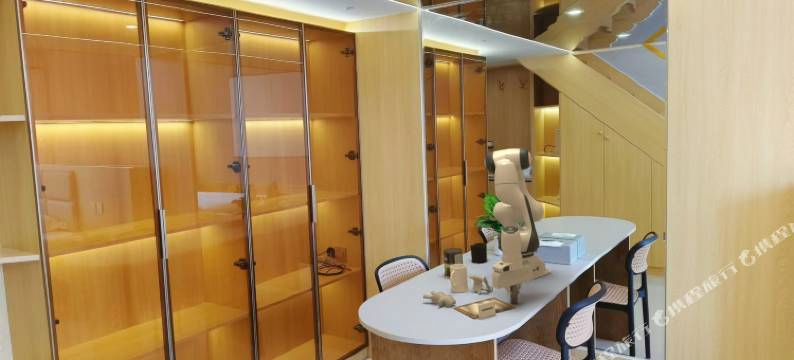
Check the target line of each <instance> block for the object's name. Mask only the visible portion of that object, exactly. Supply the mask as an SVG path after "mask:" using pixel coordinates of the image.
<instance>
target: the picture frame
mask: <svg viewBox="0 0 794 360" xmlns="http://www.w3.org/2000/svg"><path fill="white" fill-rule="evenodd" d="M491 301H495V314H499V313H502V312H503V313H504V312H505V311H510V310H512V309H516V308H517V306H515V305H514V304H511V303H508V302H506V301H504V300H502V299H499V298H496V297H489V298H485V299H482V300H481V299H480V300H478V301H475V302H470V303H467V304H463V305H458V306H455V307H453V310H455V311H457V312H459V313H461V314H463V315H465V316H466V317H469V318H471V319H472V320H476V319H479V311H478V305H479V304H483V303H487V302H491Z"/></svg>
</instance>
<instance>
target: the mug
mask: <svg viewBox="0 0 794 360" xmlns="http://www.w3.org/2000/svg"><path fill="white" fill-rule="evenodd" d="M467 267H468V266H467V264H465V263H463V264H454V265H451V266H450V274H451V277H450V279H449V282H450V286H451V287H450V290H451V292H453V293H457V294H458V293H466V292H468V291H469V285H468V284H469V283H468V281H469V280H468V271H467V270H468V269H467Z"/></svg>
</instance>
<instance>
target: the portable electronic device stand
mask: <svg viewBox="0 0 794 360" xmlns="http://www.w3.org/2000/svg"><path fill="white" fill-rule="evenodd" d="M468 278H469V279H471V280H473V286H472V290H471V293H472V294H475V293H476V292H477V295H481V291H483V290H484V291H487V292H488V291H489V292H493V291H494V287H493V285H489V281H488V279H487V277H486V276H481V275H476V274H472V273H471V274H469V277H468ZM483 282H484V284H485V286H484V284H483Z"/></svg>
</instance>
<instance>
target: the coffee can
mask: <svg viewBox="0 0 794 360" xmlns="http://www.w3.org/2000/svg"><path fill="white" fill-rule="evenodd" d="M442 252H443V263H444V277H445V278H446V279H449V280H450V277H451V274H450V266H451V265H454V264H464V256H463V255H464V254H463V252H464V250H463V248H459V247H449V248H445V249H443V251H442Z"/></svg>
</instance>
